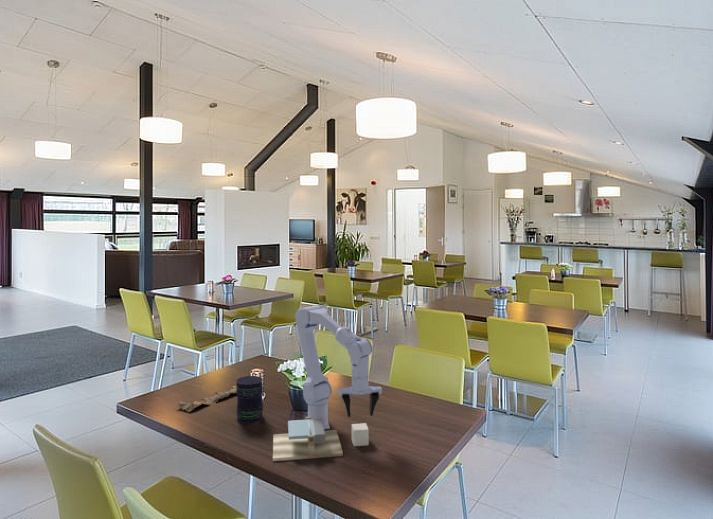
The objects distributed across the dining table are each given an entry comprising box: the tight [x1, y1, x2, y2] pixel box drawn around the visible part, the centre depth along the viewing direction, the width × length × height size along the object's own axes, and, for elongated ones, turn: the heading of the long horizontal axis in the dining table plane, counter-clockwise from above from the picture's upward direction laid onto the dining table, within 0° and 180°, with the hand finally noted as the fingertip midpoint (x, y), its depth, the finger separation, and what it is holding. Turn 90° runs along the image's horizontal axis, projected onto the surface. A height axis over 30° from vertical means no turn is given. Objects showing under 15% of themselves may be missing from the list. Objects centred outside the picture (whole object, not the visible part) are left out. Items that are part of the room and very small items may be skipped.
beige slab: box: [272, 416, 344, 462], centre depth 155 cm, size 17×22×7 cm
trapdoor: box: [287, 419, 325, 444], centre depth 154 cm, size 12×12×3 cm
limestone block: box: [351, 422, 370, 447], centre depth 158 cm, size 5×5×6 cm
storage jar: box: [236, 375, 264, 425], centre depth 177 cm, size 10×10×15 cm
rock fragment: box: [176, 384, 237, 413], centre depth 199 cm, size 34×10×3 cm, turn 149°
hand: (360, 415), depth 157 cm, fingers open, 7 cm apart
